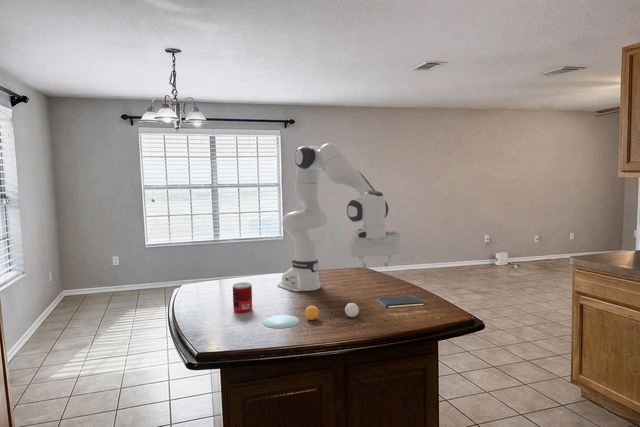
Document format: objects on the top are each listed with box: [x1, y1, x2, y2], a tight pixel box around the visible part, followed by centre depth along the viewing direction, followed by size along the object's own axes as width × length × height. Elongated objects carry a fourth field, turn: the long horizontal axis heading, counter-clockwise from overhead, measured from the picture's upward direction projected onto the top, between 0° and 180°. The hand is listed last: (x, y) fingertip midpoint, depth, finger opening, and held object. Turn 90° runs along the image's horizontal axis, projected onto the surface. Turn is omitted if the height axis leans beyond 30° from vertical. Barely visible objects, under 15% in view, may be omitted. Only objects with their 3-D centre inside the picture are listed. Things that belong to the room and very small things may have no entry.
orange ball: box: [304, 305, 320, 321], centre depth 165 cm, size 6×6×6 cm
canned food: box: [232, 281, 253, 314], centre depth 178 cm, size 8×8×11 cm
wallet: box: [375, 294, 429, 310], centre depth 186 cm, size 20×2×15 cm
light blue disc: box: [262, 314, 300, 329], centre depth 163 cm, size 14×14×1 cm
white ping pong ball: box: [344, 302, 360, 318], centre depth 168 cm, size 6×6×6 cm
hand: (375, 266), depth 168 cm, fingers open, 8 cm apart
